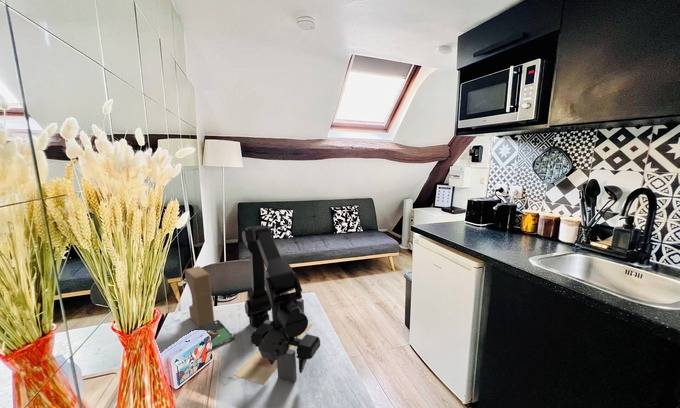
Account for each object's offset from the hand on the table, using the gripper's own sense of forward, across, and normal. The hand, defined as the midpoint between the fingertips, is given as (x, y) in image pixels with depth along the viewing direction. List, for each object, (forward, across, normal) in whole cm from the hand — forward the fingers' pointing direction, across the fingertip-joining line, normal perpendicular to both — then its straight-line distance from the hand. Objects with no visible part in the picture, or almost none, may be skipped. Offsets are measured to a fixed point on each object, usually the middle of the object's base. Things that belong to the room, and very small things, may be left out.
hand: (286, 367), depth 77 cm
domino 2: (+5, 0, 0) cm, 5 cm away
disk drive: (+5, -35, +7) cm, 36 cm away
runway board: (+5, -10, +10) cm, 15 cm away
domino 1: (+3, -10, +8) cm, 13 cm away
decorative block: (+5, -48, +15) cm, 50 cm away
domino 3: (+3, -10, +23) cm, 25 cm away
